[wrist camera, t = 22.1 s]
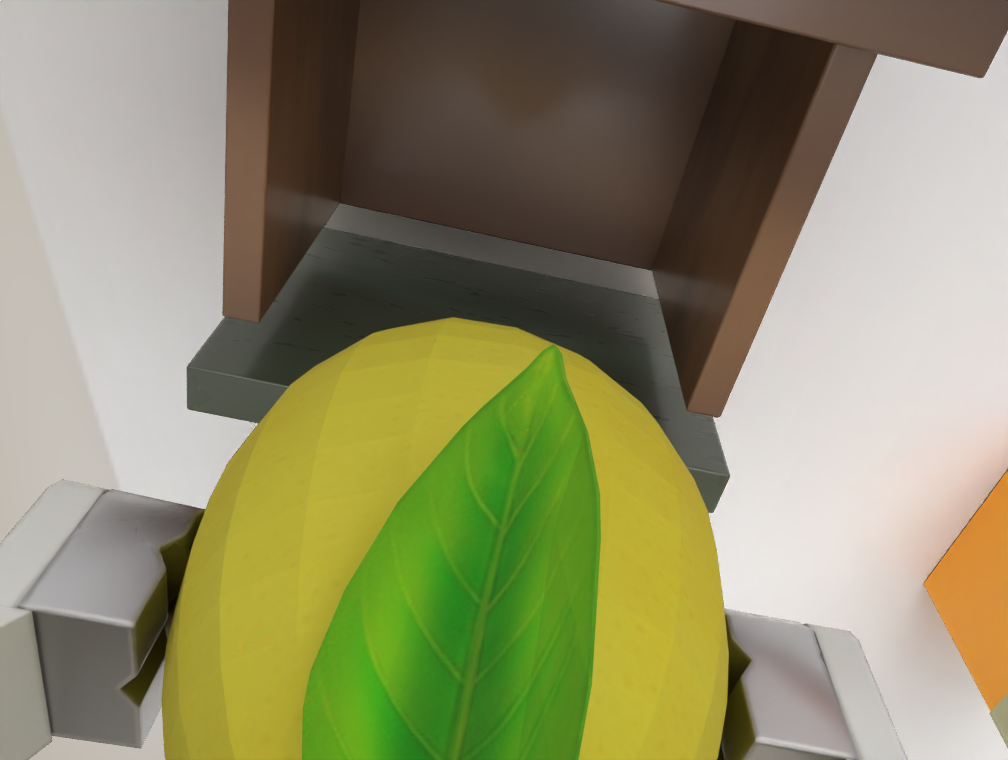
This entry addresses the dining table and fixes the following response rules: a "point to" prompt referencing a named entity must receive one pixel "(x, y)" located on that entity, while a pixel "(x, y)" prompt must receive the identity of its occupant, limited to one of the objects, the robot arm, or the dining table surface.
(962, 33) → the cabinet
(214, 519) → the lemon
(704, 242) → the drawer
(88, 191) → the dining table surface
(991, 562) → the orange juice
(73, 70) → the dining table surface
